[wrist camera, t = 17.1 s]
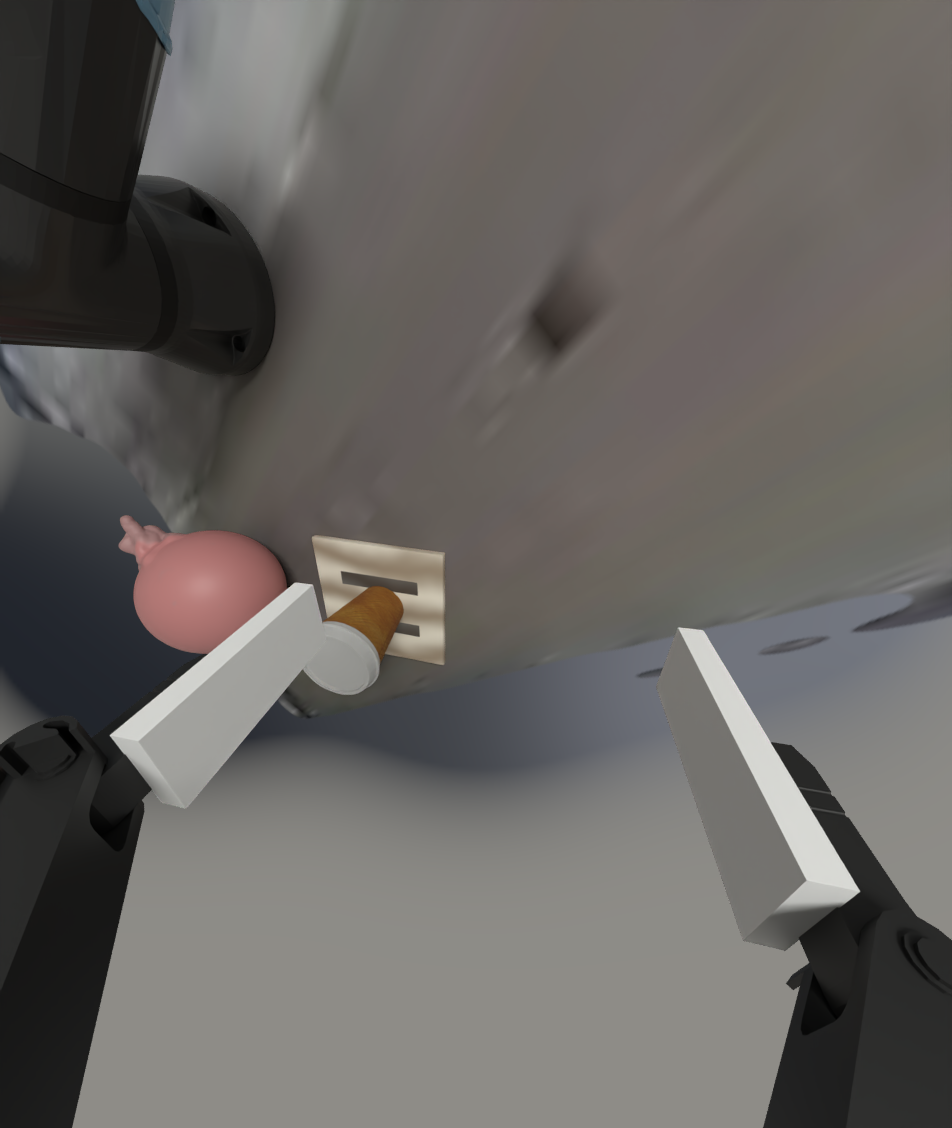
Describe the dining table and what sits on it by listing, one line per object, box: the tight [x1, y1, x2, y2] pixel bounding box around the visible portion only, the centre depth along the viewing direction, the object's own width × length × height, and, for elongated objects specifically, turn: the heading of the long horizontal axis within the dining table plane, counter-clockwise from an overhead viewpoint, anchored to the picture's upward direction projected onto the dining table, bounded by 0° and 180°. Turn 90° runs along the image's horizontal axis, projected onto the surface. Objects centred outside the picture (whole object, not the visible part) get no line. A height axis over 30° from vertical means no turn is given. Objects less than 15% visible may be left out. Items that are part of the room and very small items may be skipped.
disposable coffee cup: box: [303, 586, 404, 695], centre depth 43 cm, size 10×10×12 cm
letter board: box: [312, 535, 445, 665], centre depth 49 cm, size 18×18×1 cm
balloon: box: [119, 515, 287, 654], centre depth 44 cm, size 15×20×15 cm
